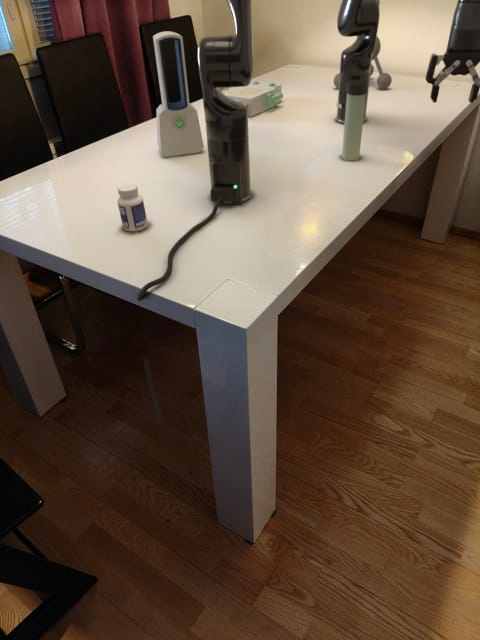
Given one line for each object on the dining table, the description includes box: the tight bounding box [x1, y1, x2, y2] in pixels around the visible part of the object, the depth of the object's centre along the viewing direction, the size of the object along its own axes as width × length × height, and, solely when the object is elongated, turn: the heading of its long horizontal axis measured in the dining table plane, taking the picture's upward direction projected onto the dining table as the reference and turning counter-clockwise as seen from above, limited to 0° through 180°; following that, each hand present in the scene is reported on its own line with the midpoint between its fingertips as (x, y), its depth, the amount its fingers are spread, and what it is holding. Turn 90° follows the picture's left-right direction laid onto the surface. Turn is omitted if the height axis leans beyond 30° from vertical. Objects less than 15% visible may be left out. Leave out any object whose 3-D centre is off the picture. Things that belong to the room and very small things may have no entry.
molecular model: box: [333, 0, 393, 90], centre depth 184 cm, size 24×22×30 cm
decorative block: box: [222, 80, 284, 118], centre depth 173 cm, size 26×6×20 cm
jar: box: [341, 93, 366, 162], centre depth 126 cm, size 5×5×18 cm
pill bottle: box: [117, 182, 148, 232], centre depth 102 cm, size 5×5×9 cm
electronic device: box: [152, 30, 205, 158], centre depth 133 cm, size 12×8×30 cm, turn 105°
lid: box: [346, 80, 368, 95], centre depth 121 cm, size 5×5×2 cm
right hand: (452, 101), depth 119 cm, fingers open, 8 cm apart
